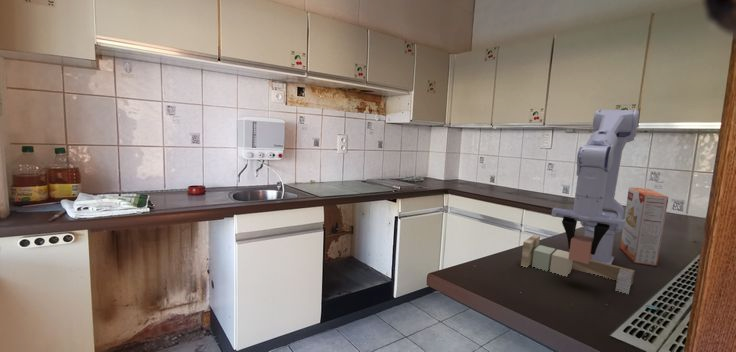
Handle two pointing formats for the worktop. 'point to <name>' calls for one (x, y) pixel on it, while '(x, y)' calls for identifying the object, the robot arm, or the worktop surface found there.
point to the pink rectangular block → (581, 248)
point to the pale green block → (542, 257)
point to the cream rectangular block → (561, 263)
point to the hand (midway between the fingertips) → (581, 250)
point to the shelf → (591, 267)
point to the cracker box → (643, 225)
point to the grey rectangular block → (624, 281)
